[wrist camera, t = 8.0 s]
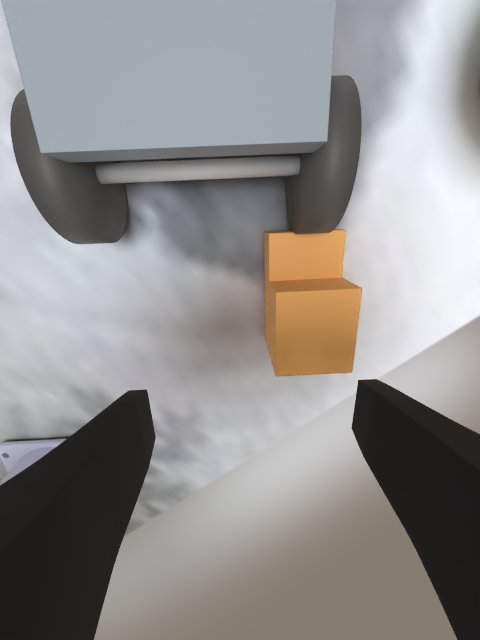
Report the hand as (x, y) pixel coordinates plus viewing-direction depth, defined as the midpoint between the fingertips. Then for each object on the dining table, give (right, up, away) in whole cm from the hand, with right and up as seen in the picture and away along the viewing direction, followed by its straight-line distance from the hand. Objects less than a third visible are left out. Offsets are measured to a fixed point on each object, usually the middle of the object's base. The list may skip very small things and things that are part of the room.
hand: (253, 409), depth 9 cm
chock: (+3, +5, +8) cm, 10 cm away
